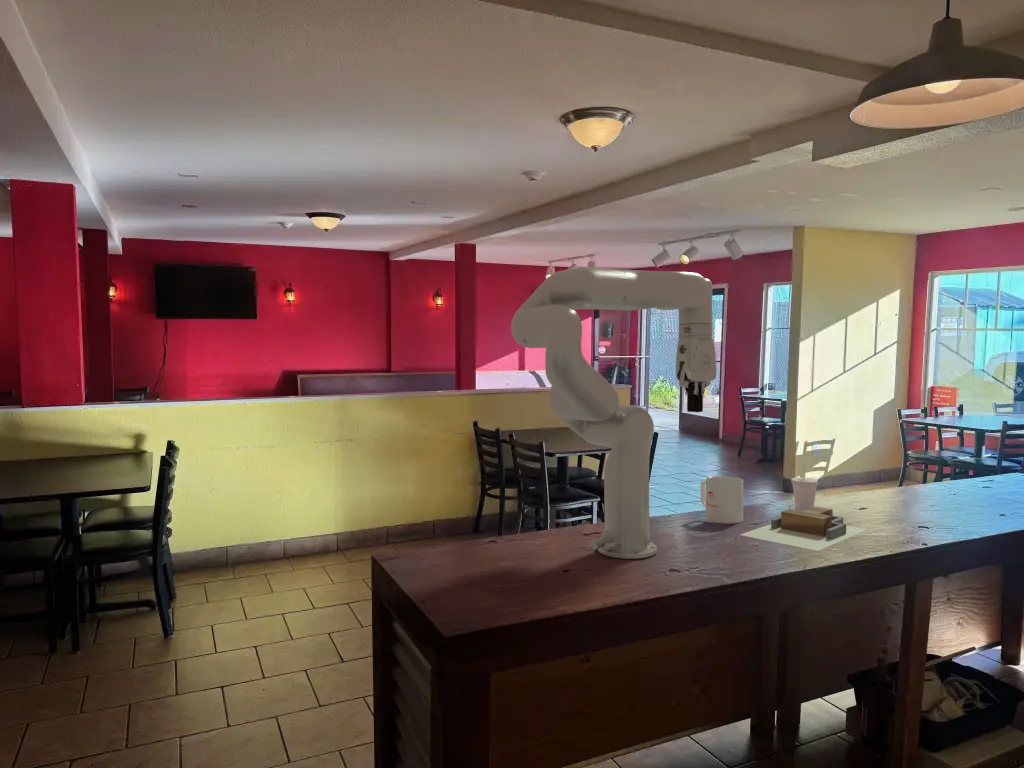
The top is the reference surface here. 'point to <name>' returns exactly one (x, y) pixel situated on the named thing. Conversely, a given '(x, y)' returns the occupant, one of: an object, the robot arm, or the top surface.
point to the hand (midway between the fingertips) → (694, 411)
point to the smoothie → (804, 491)
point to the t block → (808, 520)
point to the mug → (723, 499)
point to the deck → (805, 535)
